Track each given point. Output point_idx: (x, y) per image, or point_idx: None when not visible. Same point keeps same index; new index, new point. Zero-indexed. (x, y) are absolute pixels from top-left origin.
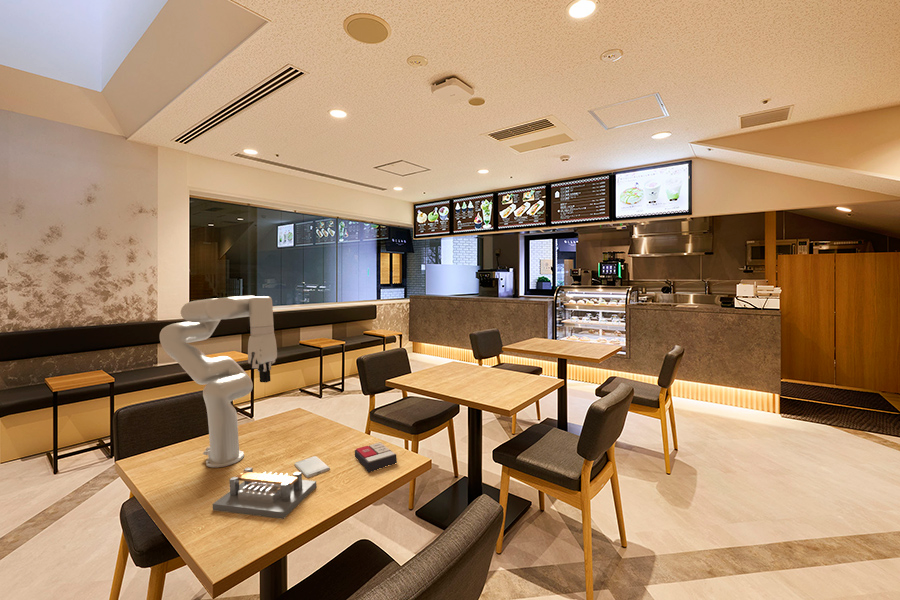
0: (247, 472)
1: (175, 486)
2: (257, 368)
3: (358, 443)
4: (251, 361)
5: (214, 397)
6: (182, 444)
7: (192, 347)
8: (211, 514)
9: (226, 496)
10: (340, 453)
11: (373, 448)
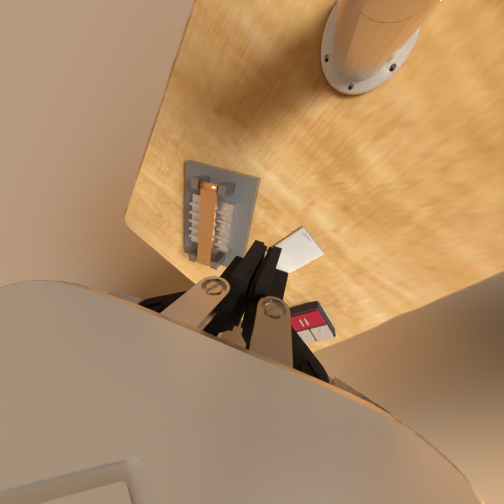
0: (215, 193)
1: (247, 6)
2: (159, 303)
3: (367, 305)
4: (68, 305)
5: None
6: None
7: None
8: (184, 164)
9: (201, 170)
10: (333, 283)
11: (310, 329)
